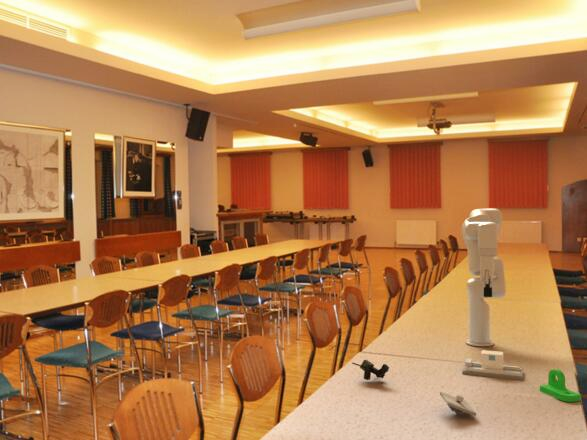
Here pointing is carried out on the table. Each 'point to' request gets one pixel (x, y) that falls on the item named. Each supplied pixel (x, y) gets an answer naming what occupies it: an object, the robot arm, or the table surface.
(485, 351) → the block
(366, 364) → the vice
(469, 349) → the table surface
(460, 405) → the light switch
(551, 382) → the mechanical part
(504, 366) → the rail plate
